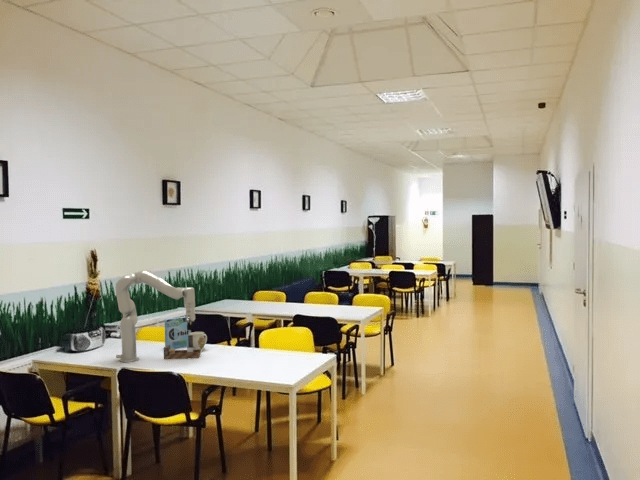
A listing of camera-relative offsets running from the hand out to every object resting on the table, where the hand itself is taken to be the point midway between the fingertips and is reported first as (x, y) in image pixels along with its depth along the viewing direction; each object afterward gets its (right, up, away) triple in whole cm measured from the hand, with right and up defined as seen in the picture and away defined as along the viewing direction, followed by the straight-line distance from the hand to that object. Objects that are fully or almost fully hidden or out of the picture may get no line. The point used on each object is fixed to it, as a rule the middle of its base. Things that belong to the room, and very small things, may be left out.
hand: (190, 328), depth 390 cm
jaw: (0, -18, +1) cm, 18 cm away
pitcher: (+1, -20, +21) cm, 29 cm away
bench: (-6, -20, 0) cm, 21 cm away
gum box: (-17, -20, +31) cm, 40 cm away
